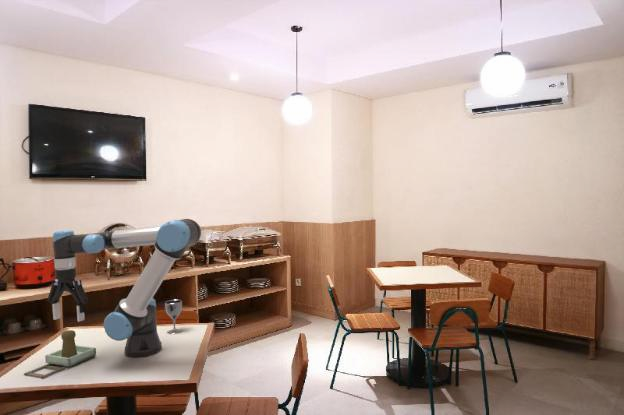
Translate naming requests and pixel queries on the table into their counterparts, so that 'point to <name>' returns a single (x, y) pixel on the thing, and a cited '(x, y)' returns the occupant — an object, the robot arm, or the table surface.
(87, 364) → the table surface
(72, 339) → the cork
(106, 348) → the table surface
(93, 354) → the shallow green tray
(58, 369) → the rails
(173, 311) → the wine glass
